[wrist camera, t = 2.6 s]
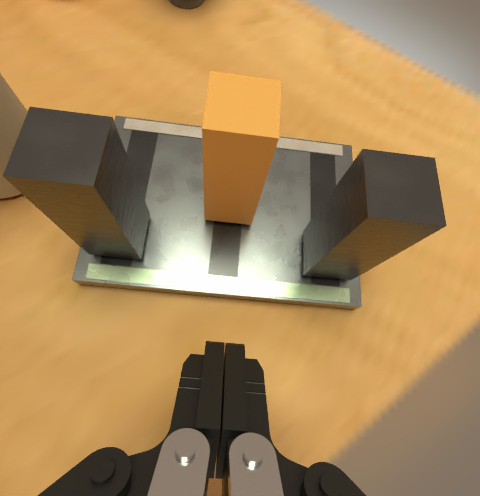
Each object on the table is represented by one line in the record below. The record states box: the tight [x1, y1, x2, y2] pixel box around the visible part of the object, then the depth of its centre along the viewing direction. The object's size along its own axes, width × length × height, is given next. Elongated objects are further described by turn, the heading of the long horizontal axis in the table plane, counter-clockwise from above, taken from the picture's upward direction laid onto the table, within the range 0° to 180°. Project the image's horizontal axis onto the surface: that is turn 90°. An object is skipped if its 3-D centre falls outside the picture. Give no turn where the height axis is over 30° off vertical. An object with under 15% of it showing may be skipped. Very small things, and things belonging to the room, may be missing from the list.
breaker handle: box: [202, 71, 281, 225], centre depth 22 cm, size 4×4×11 cm
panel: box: [3, 107, 446, 310], centre depth 23 cm, size 23×16×13 cm
